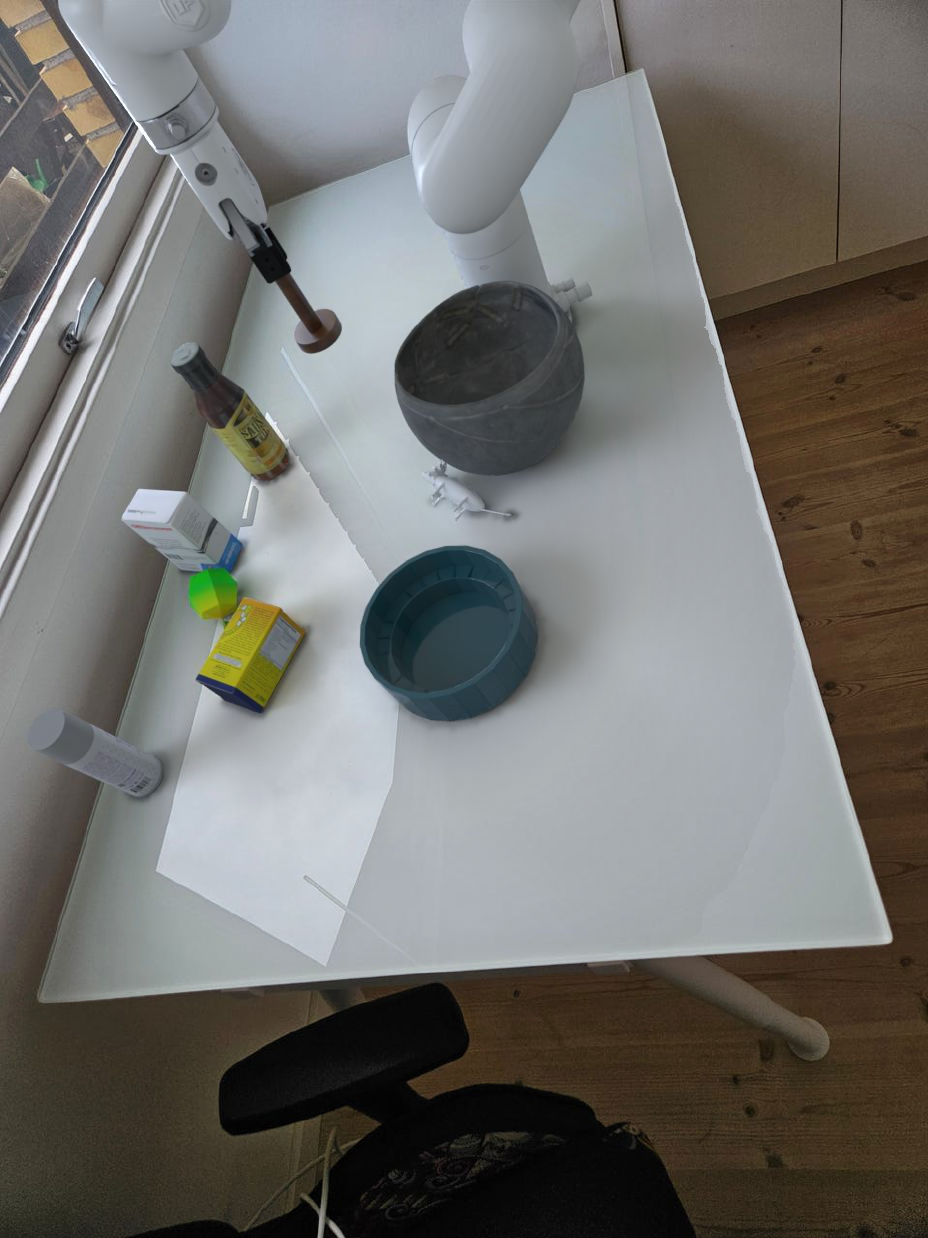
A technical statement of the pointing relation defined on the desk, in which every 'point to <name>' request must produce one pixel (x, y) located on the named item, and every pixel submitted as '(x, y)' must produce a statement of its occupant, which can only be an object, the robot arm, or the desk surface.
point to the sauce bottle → (231, 414)
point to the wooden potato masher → (309, 319)
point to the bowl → (491, 378)
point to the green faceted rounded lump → (213, 594)
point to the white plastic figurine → (454, 491)
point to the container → (94, 752)
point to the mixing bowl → (449, 633)
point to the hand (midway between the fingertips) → (277, 269)
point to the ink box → (182, 530)
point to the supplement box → (251, 654)
